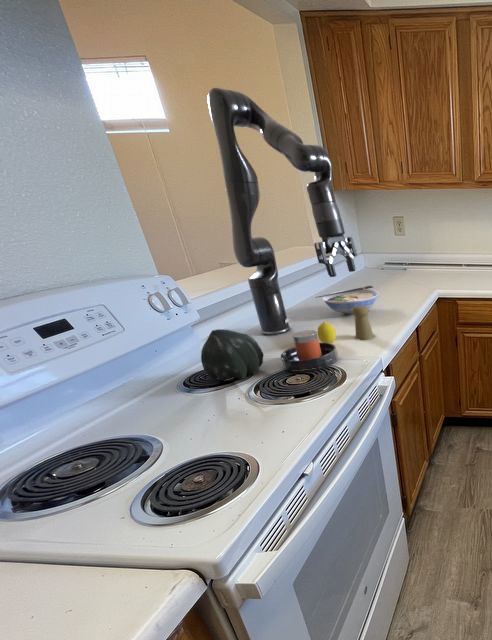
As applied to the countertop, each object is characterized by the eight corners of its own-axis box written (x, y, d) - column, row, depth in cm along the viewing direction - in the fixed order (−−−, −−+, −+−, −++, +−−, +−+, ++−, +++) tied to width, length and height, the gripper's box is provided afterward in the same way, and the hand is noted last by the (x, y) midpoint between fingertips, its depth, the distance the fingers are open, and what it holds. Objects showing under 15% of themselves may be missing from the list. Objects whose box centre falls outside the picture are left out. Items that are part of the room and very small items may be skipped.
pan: (276, 364, 124) (272, 352, 122) (325, 351, 134) (322, 339, 132) (296, 378, 114) (292, 365, 113) (347, 362, 124) (344, 350, 122)
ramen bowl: (335, 324, 161) (331, 303, 158) (315, 313, 177) (310, 294, 173) (393, 311, 176) (391, 292, 172) (369, 302, 192) (367, 284, 188)
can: (296, 362, 124) (288, 334, 120) (317, 356, 128) (311, 328, 124) (305, 368, 120) (297, 338, 116) (326, 361, 124) (320, 332, 120)
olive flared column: (368, 340, 142) (363, 309, 137) (352, 339, 143) (346, 308, 139) (376, 334, 147) (371, 304, 143) (361, 334, 148) (355, 303, 144)
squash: (272, 343, 125) (222, 312, 116) (273, 361, 113) (218, 328, 104) (241, 378, 125) (189, 350, 116) (239, 400, 113) (180, 371, 104)
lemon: (321, 349, 135) (316, 325, 132) (319, 344, 140) (314, 321, 137) (339, 346, 138) (334, 322, 134) (336, 341, 142) (332, 318, 139)
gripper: (335, 219, 132) (349, 270, 138) (300, 223, 120) (317, 279, 126) (353, 216, 129) (367, 269, 135) (319, 219, 117) (335, 277, 123)
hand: (343, 274), depth 131 cm, fingers open, 8 cm apart
